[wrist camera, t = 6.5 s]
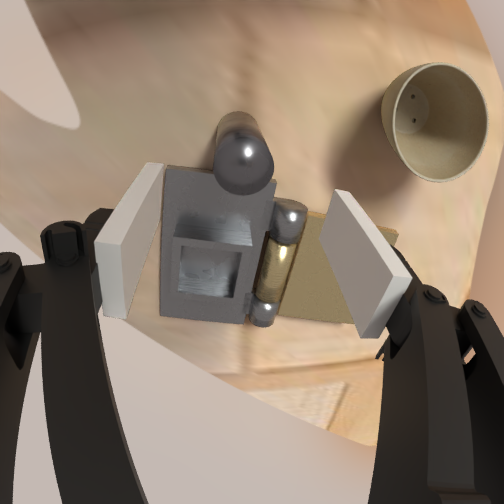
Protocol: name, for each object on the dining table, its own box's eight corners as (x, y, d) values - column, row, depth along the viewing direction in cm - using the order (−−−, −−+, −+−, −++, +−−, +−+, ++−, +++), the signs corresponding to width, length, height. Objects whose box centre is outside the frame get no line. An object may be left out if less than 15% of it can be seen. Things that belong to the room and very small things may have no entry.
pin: (220, 109, 26) (217, 135, 18) (261, 114, 26) (279, 144, 18) (214, 147, 28) (209, 192, 20) (254, 152, 28) (267, 199, 20)
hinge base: (168, 165, 28) (160, 178, 25) (308, 185, 30) (317, 200, 28) (161, 309, 38) (157, 331, 35) (269, 320, 40) (272, 341, 37)
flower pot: (453, 78, 24) (499, 90, 18) (430, 164, 30) (469, 192, 24) (369, 43, 23) (408, 43, 17) (347, 143, 28) (378, 169, 22)
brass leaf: (275, 203, 31) (276, 216, 29) (394, 229, 32) (404, 242, 30) (251, 304, 38) (250, 320, 36) (354, 317, 39) (358, 333, 37)
